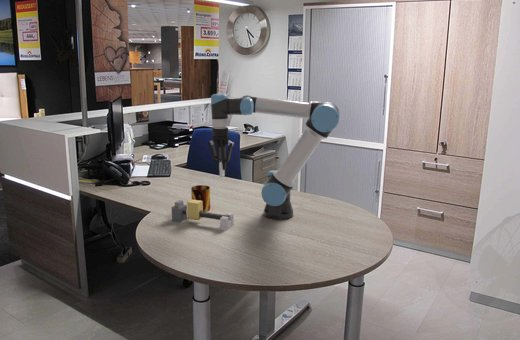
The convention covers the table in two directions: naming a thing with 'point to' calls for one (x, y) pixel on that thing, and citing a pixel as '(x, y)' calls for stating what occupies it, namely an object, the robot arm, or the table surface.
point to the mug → (202, 195)
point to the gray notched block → (226, 222)
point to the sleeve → (194, 209)
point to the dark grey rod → (207, 215)
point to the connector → (178, 211)
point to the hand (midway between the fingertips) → (222, 176)
